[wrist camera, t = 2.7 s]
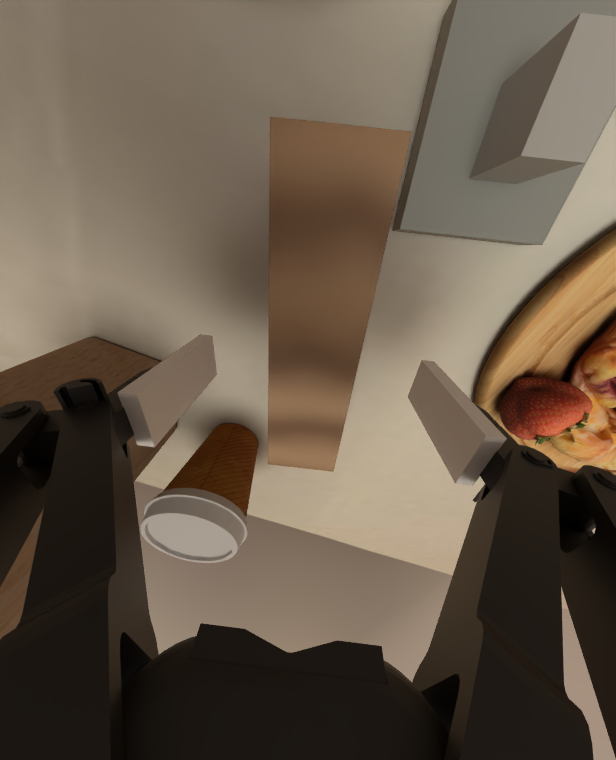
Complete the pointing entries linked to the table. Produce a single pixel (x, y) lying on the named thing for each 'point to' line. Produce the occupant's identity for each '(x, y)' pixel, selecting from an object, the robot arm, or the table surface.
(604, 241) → the wooden plate with food
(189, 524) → the disposable coffee cup
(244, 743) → the robot arm
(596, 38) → the pedestal
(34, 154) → the table surface
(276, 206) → the walnut beam
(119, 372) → the wooden block
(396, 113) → the table surface
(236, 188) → the table surface
